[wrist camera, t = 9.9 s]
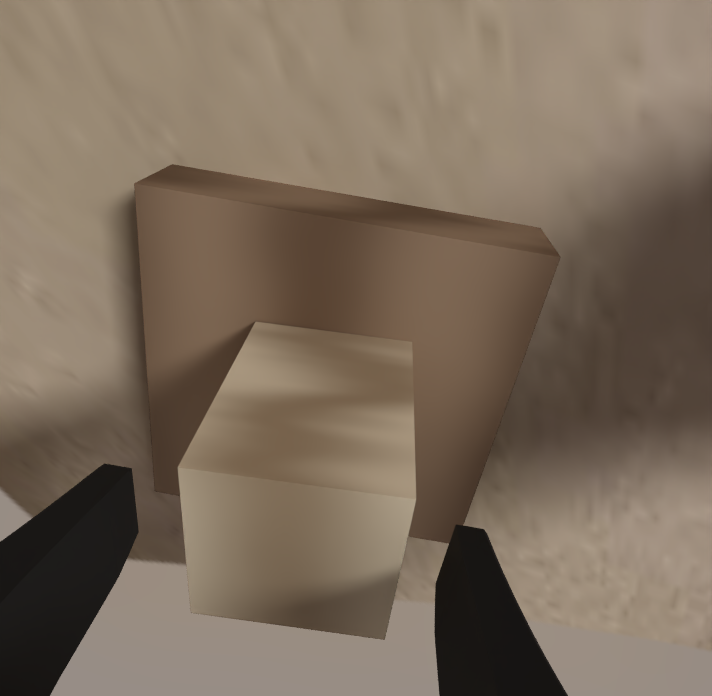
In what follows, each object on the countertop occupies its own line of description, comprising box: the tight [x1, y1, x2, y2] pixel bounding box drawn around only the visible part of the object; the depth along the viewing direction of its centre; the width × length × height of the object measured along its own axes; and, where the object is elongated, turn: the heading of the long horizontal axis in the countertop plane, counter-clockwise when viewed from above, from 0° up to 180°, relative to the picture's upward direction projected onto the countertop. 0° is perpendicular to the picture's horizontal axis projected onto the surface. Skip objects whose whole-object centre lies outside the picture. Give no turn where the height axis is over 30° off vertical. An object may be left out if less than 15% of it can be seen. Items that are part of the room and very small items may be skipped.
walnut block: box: [134, 164, 560, 543], centre depth 18 cm, size 11×11×3 cm
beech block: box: [178, 322, 416, 640], centre depth 14 cm, size 4×4×6 cm
